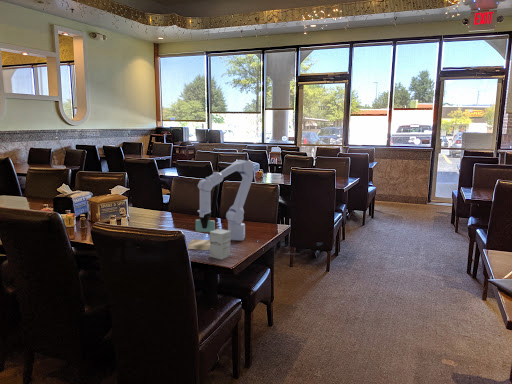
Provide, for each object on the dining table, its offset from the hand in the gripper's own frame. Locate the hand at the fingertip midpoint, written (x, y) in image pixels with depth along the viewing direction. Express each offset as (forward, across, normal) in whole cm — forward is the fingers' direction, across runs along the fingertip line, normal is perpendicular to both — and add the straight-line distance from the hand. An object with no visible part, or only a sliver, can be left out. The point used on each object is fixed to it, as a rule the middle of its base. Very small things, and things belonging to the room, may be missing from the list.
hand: (205, 227), depth 198 cm
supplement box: (+9, +19, +12) cm, 25 cm away
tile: (+2, 0, 0) cm, 2 cm away
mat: (+8, +4, 0) cm, 9 cm away
